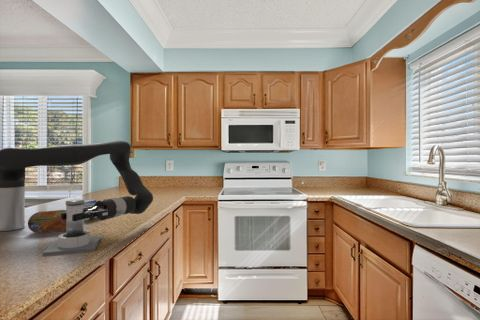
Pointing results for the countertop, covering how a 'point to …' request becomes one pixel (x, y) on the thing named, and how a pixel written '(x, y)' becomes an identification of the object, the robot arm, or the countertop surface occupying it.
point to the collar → (72, 244)
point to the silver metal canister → (74, 226)
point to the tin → (47, 222)
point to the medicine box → (89, 204)
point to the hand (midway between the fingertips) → (67, 217)
